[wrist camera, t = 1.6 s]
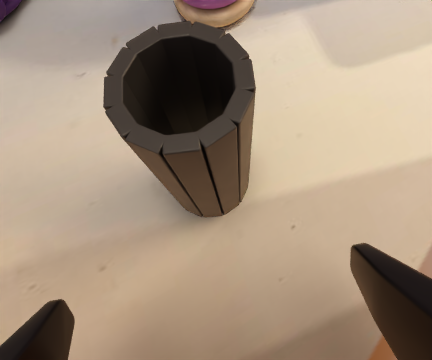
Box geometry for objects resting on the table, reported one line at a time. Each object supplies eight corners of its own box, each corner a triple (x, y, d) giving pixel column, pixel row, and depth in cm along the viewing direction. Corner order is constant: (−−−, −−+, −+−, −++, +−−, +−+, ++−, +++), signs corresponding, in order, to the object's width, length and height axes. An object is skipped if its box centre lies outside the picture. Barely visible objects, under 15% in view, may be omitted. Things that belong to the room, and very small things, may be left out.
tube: (262, 187, 24) (286, 93, 11) (200, 232, 23) (152, 184, 11) (219, 132, 25) (197, -2, 13) (160, 172, 25) (77, 71, 12)
